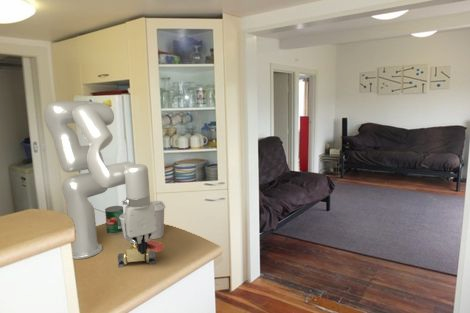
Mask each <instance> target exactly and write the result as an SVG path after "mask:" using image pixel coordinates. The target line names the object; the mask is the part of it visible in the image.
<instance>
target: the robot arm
mask: <svg viewBox="0 0 470 313" xmlns="http://www.w3.org/2000/svg"><path fill="white" fill-rule="evenodd" d="M43 116H44V122H45V126H46V128H47V130H48V131H49V134H50V135H51V137H52V139H53V143H54V147H55V151H56V154H57V155H56V156H57V157H58V158H57V159H58V161H59V166H60V167H61V170H62V171H63V172H66V173H74V172H80V171H85V170H88V172H86V173H85V172H84V173H79V174H75V175H71V176H69V177H67V178H65V179H64V180H63V182H62V183H61V191H62V195H63V197H64V200H65V205H66V211H67V217H68V216H69V217H71V218H72V219H73V221H74V224H75V230H76V241H75V242H74V243H72V252H73V258H72V259H75V260H80V259H89V258H91V257H94V256H96V255H98V254H100V253H101V252H102V250H103V245H102V244H101V243H98V234H97V225H96V213H95V208H94V206H93V204H92V203H91V202H90V200H88V198H90V197H94V196H97V195H101V194H103V193H105V192H106V191H107V190H108V189H111V188H115V187H118V186H122V185H125V194H126V197H125V199H124V200H122V205H123V206H124V205H125V208H124V214H125V217H124V227H125V233H126V235H125V240H126V241H129V240H134V241H136V242H137V249H138V252H140V253H141V254H144V253H146V250H147V241H148V240H150V239H151V238H150V236H151V235H153V234H155V233H157V220H156V214H155V209H154V206H153V203H151V202H150V201H151V195H150V192H151V191H150V180H149V178H150V177H149V169H148V166H147V165H145V164H141V163H140V164H139V163H137V164H136V163H134V162H131V161H124V162H118V163H112V164H109V165H108V164H107V165H106V164H105V162H104V158H103V155H102V152H101V151H102V150H104V149H105V148H106V147H108V146H109V145H110V144H111V143H112V141H113V138H114V137H113V134H112V132H111V131H110V129H109V128H108V126H110V125H111V124H113V122H114V120H115V114H114V110H112V108H111V107H110V106H109V105H108V104H106V103H102V102H96V101H91V100H58V101H53V102H50V103H48V104H47V105H46V106H45V108H44V113H43ZM69 124H76V126H77V127H78V130H79V131H80V133H81V134H82V135H83V138H84V139H85V141H86V142H87V144H88V145H81V144H80V141H79V137H78V135H77V133H76V131H74V130H73V128H72V127H70V126H69ZM140 236H142V240H141V238H140Z"/></svg>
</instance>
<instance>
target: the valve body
mask: <svg viewBox="0 0 470 313" xmlns="http://www.w3.org/2000/svg"><path fill="white" fill-rule="evenodd" d="M156 259H157V256H156V251H153V250H150V249H147V250H146V253H144V254H141V253H140V252H138V249H137V244H135V245H132V244H130V242H128V245H127V246H126V250H123V253H118V255H117V263H118V264H117V268H124V267H125V266H126V265H128V264H129V263H132V262H134V263H135V262H143V261H146V264H149V265H156Z"/></svg>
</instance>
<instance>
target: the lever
mask: <svg viewBox="0 0 470 313" xmlns="http://www.w3.org/2000/svg"><path fill="white" fill-rule="evenodd" d="M140 238H141V240H142V236H140ZM128 241H129V242H128V243H130V244H132V245H135V244H137V242H136V241H134V240H128ZM147 249H149V250H150V251H155V253H158V252H161V251H162V250H164V243H162V242H159V241H156V240H154V239H148V241H147Z"/></svg>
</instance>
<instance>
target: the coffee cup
mask: <svg viewBox="0 0 470 313" xmlns="http://www.w3.org/2000/svg"><path fill="white" fill-rule="evenodd" d="M150 202H151V203H153V206H154V209H155V214H156V220H157V233H155V234H153V235H151V236H150V238H149V239H150V240H157V239H161V238H163V237H164V234H165V233H164V232H165V230H164V229H165V208H166V205H165V203H164V202H163V201H162V200H152V201H151V200H150ZM162 236H163V237H162Z"/></svg>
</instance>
